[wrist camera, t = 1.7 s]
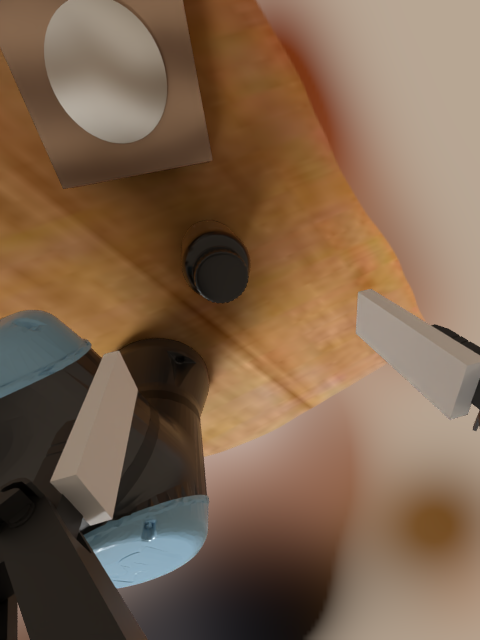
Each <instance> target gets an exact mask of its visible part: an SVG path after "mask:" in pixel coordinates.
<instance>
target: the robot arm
mask: <svg viewBox="0 0 480 640" xmlns="http://www.w3.org/2000/svg"><path fill="white" fill-rule="evenodd" d="M356 334H357V335H358V336H359V337H360V338H361V339H363V340H364V341H365V342H366V343H367V344H368V345H369V346H370V347H371V348H372V349H373V350H375V351H376V352H377V353H378V354H379V355H380V356H381V357H382V358H383V359H384V360H385V361H386V362H388V363H389V364H390V365H391V366H392V367H393V368H394V369H395V370H396V371H397V372H398V373H400V374H401V375H402V376H403V377H404V378H405V379H406V380H407V381H408V382H409V383H410V384H411V385H413V386H414V387H415V388H416V389H417V390H418V391H419V392H420V393H421V394H422V395H423V396H425V397H426V398H427V399H428V400H429V401H430V402H431V403H432V404H433V405H434V406H435V407H437V408H438V409H439V410H440V411H441V412H442V413H443V414H444V415H445V416H446V417H447V418H448V419H450V420H451V419H454V418H458V417H461V416H465V415H467V414H468V412H469V409H470V406H471V404H473V405H474V406H476V407H477V408H478V409H479V410H480V347H479V346H477V345H475V344H474V343H472V342H468V340H467V339H465V338H463V337H462V336H461V337H460V336H459V335H458V334H456V333H455V332H453V331H451V330H449V329H447V328H444V327H441V326H438V325H429V324H428V323H426V322H424V321H423V320H421V319H419V318H418V317H416V316H415V315H413V314H411V313H410V312H408V311H406V310H405V309H403V308H402V307H400V306H398V305H397V304H395V303H393V302H392V301H390V300H388V299H387V298H385V297H384V296H382V295H380V294H379V293H377V292H375V291H374V290H372V289H368V290H364V291H360V292H358V304H357V322H356ZM208 391H209V378H208V371H207V367H206V365H205V363H204V361H203V359H202V358H201V357H200V355H199V354H198V353H197V352H196V351H194V350H193V349H192V348H190V347H189V346H187V345H185V344H183V343H180V342H177V341H174V340H169V339H159V338H157V339H146V340H141V341H137V342H134V343H132V344H130V345H128V346H126V347H124V348H122V349H121V350H120V351H115V352H111V353H107V354H104V355H103V358H101V357H100V356H99V355H98V354H97V353H96V352H95V351H94V350H93V349H92V348H91V343H90V342H89V341H88V340H85V339H82V338H80V337H79V336H78V335H77V334H76V333H74V332H73V331H72V330H71V329H70V328H68V327H67V326H66V325H65V324H64V323H62V322H61V321H60V320H59V319H58V318H56V317H55V316H53V315H52V314H50V313H47V312H44V311H40V310H26V311H21V312H17V313H14V314H12V315H9V316H7V317H5V318H2V319H0V640H17V602H18V605H19V608H20V611H21V614H22V617H23V620H24V623H25V626H26V628H27V632H28V635H29V638H30V640H148V639H147V637H146V636H145V634H144V633H143V631H142V629H141V628H140V626H139V624H138V623H137V621H136V620H135V618H134V616H133V615H132V613H131V611H130V610H129V608H128V607H127V605H126V603H125V602H124V600H123V598H122V597H121V595H120V594H119V592H118V590H117V589H116V588H122V587H127V586H131V585H135V584H139V583H143V582H146V581H149V580H152V579H155V578H158V577H160V576H162V575H165V574H167V573H169V572H171V571H173V570H175V569H177V568H179V567H181V566H182V565H184V564H185V563H187V562H188V561H189V560H191V559H192V558H193V557H194V556H195V555H196V554H197V553H198V551H199V550H200V548H201V547H202V546H203V543H204V542H205V540H206V537H207V533H208V504H209V498H208V496H207V492H206V480H205V468H204V457H203V445H202V434H201V424H200V416H201V413H202V410H203V407H204V404H205V401H206V398H207V395H208ZM478 426H480V411H479V413H478V416H477V418H476V421H475V423H474V426H473V430H474V431H476V430H477V428H478Z"/></svg>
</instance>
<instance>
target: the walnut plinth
mask: <svg viewBox="0 0 480 640" xmlns="http://www.w3.org/2000/svg"><path fill="white" fill-rule="evenodd" d="M0 48H1V50H2V52H3V55H4V57H5V59H6V61H7V64H8V66H9V68H10V70H11V73H12V75H13V77H14V79H15V82H16V84H17V86H18V88H19V91H20V93H21V95H22V97H23V100H24V102H25V104H26V106H27V109H28V111H29V113H30V115H31V118H32V120H33V122H34V124H35V127H36V129H37V131H38V133H39V136H40V138H41V140H42V142H43V145H44V147H45V149H46V151H47V154H48V156H49V158H50V160H51V163H52V165H53V167H54V169H55V172H56V174H57V176H58V178H59V181H60V183H61V185H62V187H63V189H66V188H73V187H79V186H85V185H90V184H95V183H100V182H106V181H111V180H116V179H121V178H127V177H132V176H137V175H142V174H148V173H153V172H158V171H163V170H168V169H174V168H179V167H184V166H189V165H195V164H200V163H205V162H210V161H212V160H213V159H212V154H211V148H210V143H209V138H208V132H207V127H206V122H205V116H204V111H203V106H202V100H201V95H200V90H199V84H198V79H197V73H196V68H195V63H194V57H193V52H192V47H191V41H190V36H189V31H188V25H187V20H186V15H185V9H184V4H183V0H0Z"/></svg>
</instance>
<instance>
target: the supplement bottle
mask: <svg viewBox="0 0 480 640" xmlns="http://www.w3.org/2000/svg"><path fill="white" fill-rule="evenodd" d="M181 260H182V272H183V275H184V278H185V280H186V282H187V284H188V285H189V286H190V287H191V288H192V289H193V290H194V291H195V292H196V293H198V294H199V295H201V296H203V297H204V298H206V299H207V300H208V301H212V302H216V303H225V302H227V303H228V302H230V301H233V300H234V299H236V298H238V296H240V295H241V294H242V292H243V291H244V290H245V288H246V287H247V283H248V277H249V273H250V265H251V264H250V256H249V253H248V250H247V248H246V247H245V245H244V244H243V242H242V241H241V240H240V239H239V238H238V237H237V236H236V235H235V234H234V233H233V232H232V231H231V230H230V229H229V228H228V227H227V226H225V225H224V224H222V223H220V222H217V221H214V220H204V221H200V222H198V223H196V224H194V225H192V226H191V227H190V228H189V229H188V230H187V232H186V233H185V235H184V237H183V240H182V245H181Z"/></svg>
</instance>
